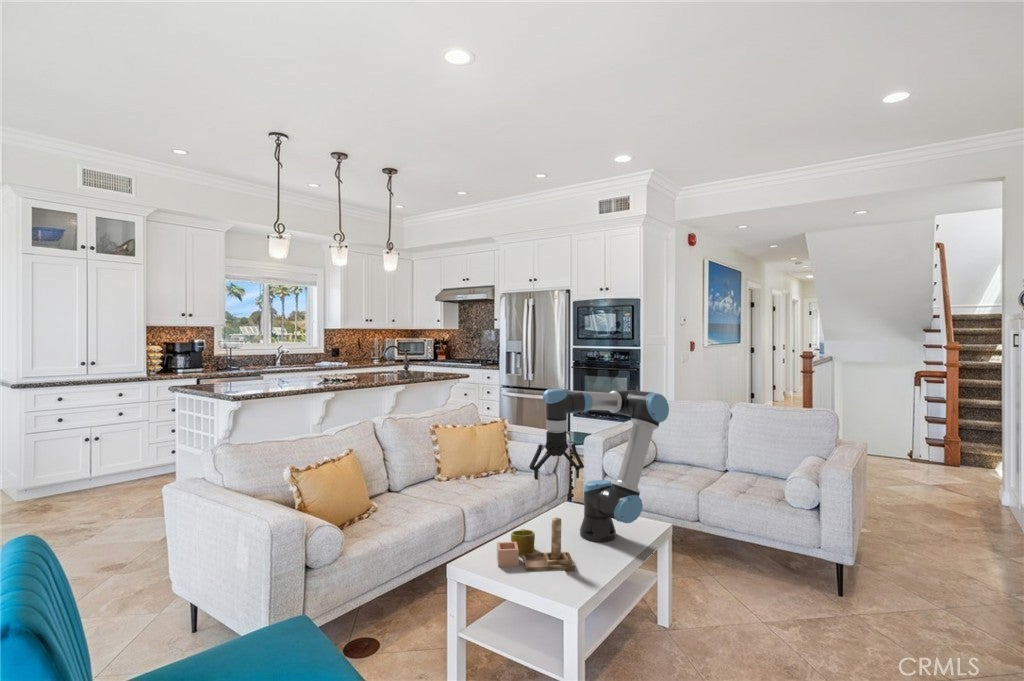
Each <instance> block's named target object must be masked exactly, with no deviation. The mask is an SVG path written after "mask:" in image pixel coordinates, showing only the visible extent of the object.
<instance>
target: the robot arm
mask: <svg viewBox="0 0 1024 681" xmlns="http://www.w3.org/2000/svg"><path fill="white" fill-rule="evenodd" d="M542 403H543V404H544V406H545V409H546V410H545V412H546V413H545V414H546V415H545V417H546V420H545V421H546V423H545V425H546V426H545V427H546V430H547V431H545V432H546V433H545V435H546V438H545V439H546V442H545V444H542V443H540V442H539V443H538V444H537V450H536V451H535V453H534V456H533V458H532V460H531V461H530V463H529V466H528V467H529V470H531V471H534V472H533V473H534V474H533V477H534V480H535V481H536V487H537V489H538V490H541V471H540V469H541V468H542V467H543V465H544V463H546V461H547V460H548V459H549V458H550V457H551V456H552V457H562V456H564V457H565V458H566V459H567V460H568V462H569V463H570V464H571V465H572V466H573V467H574V468H572V487H573V488H574V489H577V479H579V478H580V470H581V469H584V468H585V466H584V464H583V461H582V459H581V457H580V456H579V453H578V451H577V450H576V444H575V443H574V442H570V443H567V441H568V440H567V434H568V433H567V424H568V423H567V414H577V413H584V412H585V413H586V412H589V411H609V412H610V413H612V414H619V415H624V416H628V417H630V421H631V423H632V426H631V429H630V430H631V431H630V434H629V438H628V441H627V445H626V448H625V450H624V454H623V455H624V456H623V457H622V458H623V459H622V462H621V465H620V470H619V472H618V476H617V479H616V480H614V481H611V480H607V479H598V480H597V479H594V480H590V481H587V482H585V484H584V486H583V487H584V488H583V489H584V490H583V515H584V516H583V518H582V522H581V523H580V524H581V525H580V528H579V534H580V538H581V537H582V538H583V539H585V540H587V541H591V542H598V543H599V542H600V543H602V542H609V541H613V540H615V539H616V536H617V533H616V532H617V531H616V527H615V524H614V521H613V520H616V521H617V522H621V523H624V524H631V523H633V522H634V521H636V520H637V519H638V518H639V517H640V516H641V513H642V511H643V506H644V505H643V500H642V499H641V498H640V494H641V491H640V489H639V483H640V481H641V480H640V479H641V477H642V472H643V469H644V466H645V462H646V459H647V455H648V452H649V447H650V444H651V441H652V437H653V433H654V431H655V430H657V429H659V426H660V423H663V422H665V420H667V419H668V416H669V412H670V405H669V403H668V400H667V398H666V397H665V396H664V395H663V394H661V393H657V392H653V391H642V390H635V389H633V390H631V389H630V390H611V391H609V392H602V391H588V390H587V391H586V390H584V391H583V390H571V389H570V390H566V389H563V388H548V389H546V390H544V392H543V395H542ZM568 448H569V450H571V451H572V454H573V456H574V457H575V460H576V461H577V463H578V464H577V463H576V462H575V461H574V459H572V457H570V455H569V454H568V453H567V452H566V451H567V450H568ZM544 449H545V450H546V452H545V453H544V455H543V456H542V457H541V458H540V456H541V454H542V451H544ZM539 458H540V460H539V461H538V459H539Z"/></svg>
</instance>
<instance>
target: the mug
mask: <svg viewBox="0 0 1024 681" xmlns="http://www.w3.org/2000/svg"><path fill="white" fill-rule="evenodd" d="M535 536H536V533H535V532H534V531H533V530H530V529H525V528H523V529H522V528H521V529H520V530H518V529H517V530H514V531H512V532H511V534H510V539H511V541H510V542H517V546H518V549H519V556H522V554H527V553H535V543H536V542H535V540H536V537H535Z"/></svg>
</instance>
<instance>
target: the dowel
mask: <svg viewBox="0 0 1024 681" xmlns="http://www.w3.org/2000/svg"><path fill="white" fill-rule="evenodd" d="M550 541H551V542H550V543H551V546H550V547H551V548H550V552H551V560H561V552H562V518H561V517H552V518H551V540H550Z"/></svg>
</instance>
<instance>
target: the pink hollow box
mask: <svg viewBox="0 0 1024 681" xmlns="http://www.w3.org/2000/svg"><path fill="white" fill-rule="evenodd" d="M519 556H520V555H519V549H518V546H517V542H511V541H500V542H496V563H497V568H503V567H505V568H507V567H520V566H519V565H520V564H519V562H520V561H519Z"/></svg>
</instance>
